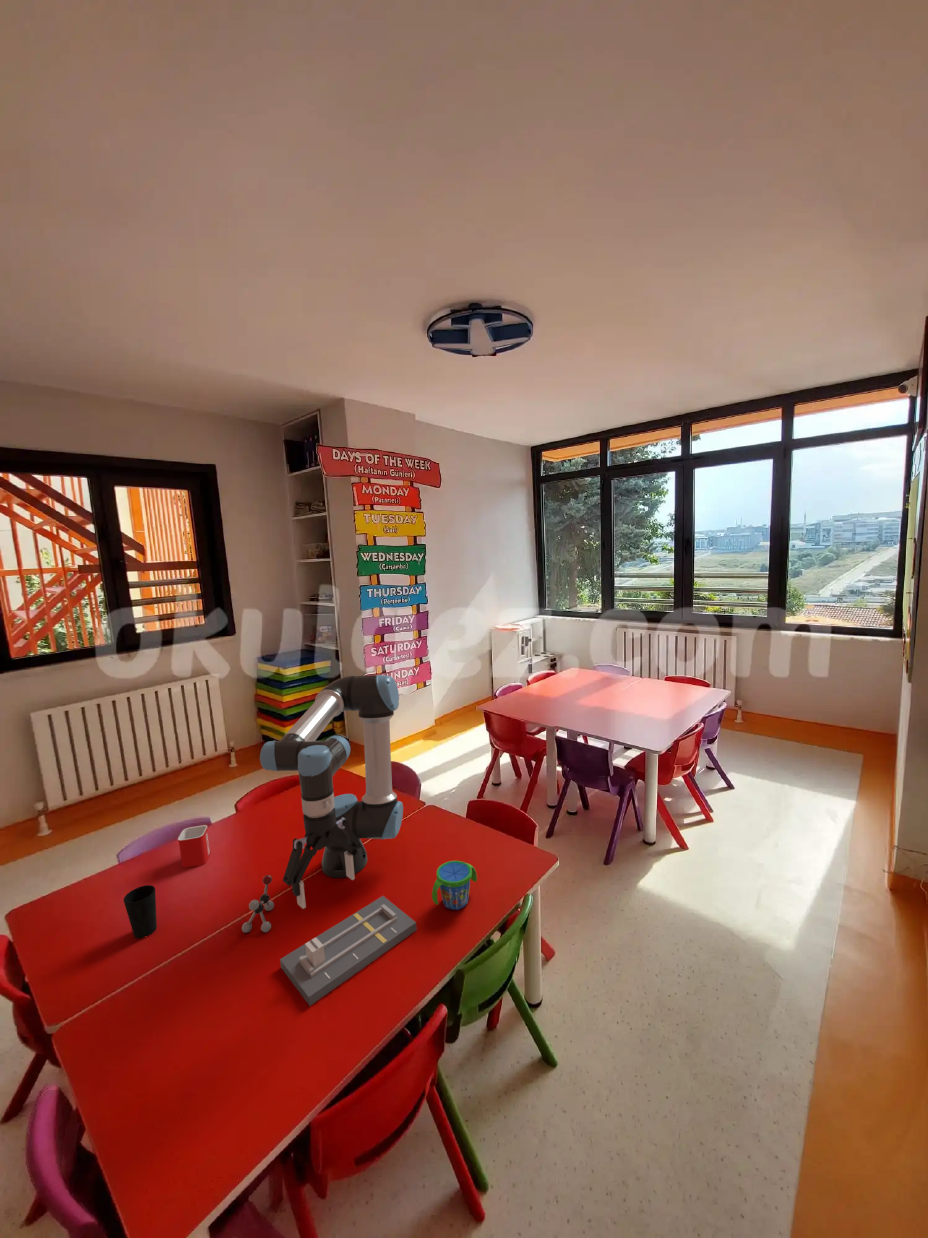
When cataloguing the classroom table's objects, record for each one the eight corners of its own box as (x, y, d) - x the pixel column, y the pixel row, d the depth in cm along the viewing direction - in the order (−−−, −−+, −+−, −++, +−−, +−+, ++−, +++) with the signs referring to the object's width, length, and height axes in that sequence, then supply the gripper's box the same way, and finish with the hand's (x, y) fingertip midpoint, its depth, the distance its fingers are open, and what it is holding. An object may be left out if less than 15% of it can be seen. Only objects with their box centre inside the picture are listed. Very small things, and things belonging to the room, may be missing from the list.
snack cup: (467, 882, 158) (466, 852, 157) (487, 901, 149) (485, 869, 148) (424, 903, 150) (422, 872, 148) (442, 924, 141) (440, 891, 140)
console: (280, 967, 129) (279, 953, 129) (383, 903, 151) (382, 891, 150) (309, 1006, 118) (308, 991, 117) (416, 930, 139) (415, 917, 139)
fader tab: (306, 961, 128) (304, 943, 127) (317, 954, 130) (315, 936, 129) (314, 970, 125) (312, 952, 124) (325, 963, 127) (323, 945, 126)
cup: (167, 924, 147) (161, 887, 145) (143, 944, 140) (136, 905, 138) (147, 919, 149) (142, 883, 148) (123, 939, 142) (116, 900, 141)
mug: (206, 865, 175) (202, 837, 173) (180, 869, 173) (176, 841, 171) (214, 845, 186) (211, 819, 185) (190, 849, 185) (186, 823, 183)
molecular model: (240, 935, 141) (236, 901, 140) (259, 905, 153) (255, 873, 152) (269, 934, 141) (265, 900, 140) (285, 904, 153) (281, 872, 151)
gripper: (276, 839, 110) (286, 926, 112) (370, 795, 127) (377, 872, 130) (261, 827, 115) (271, 911, 118) (354, 787, 132) (360, 861, 135)
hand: (327, 891), depth 124 cm, fingers open, 13 cm apart
